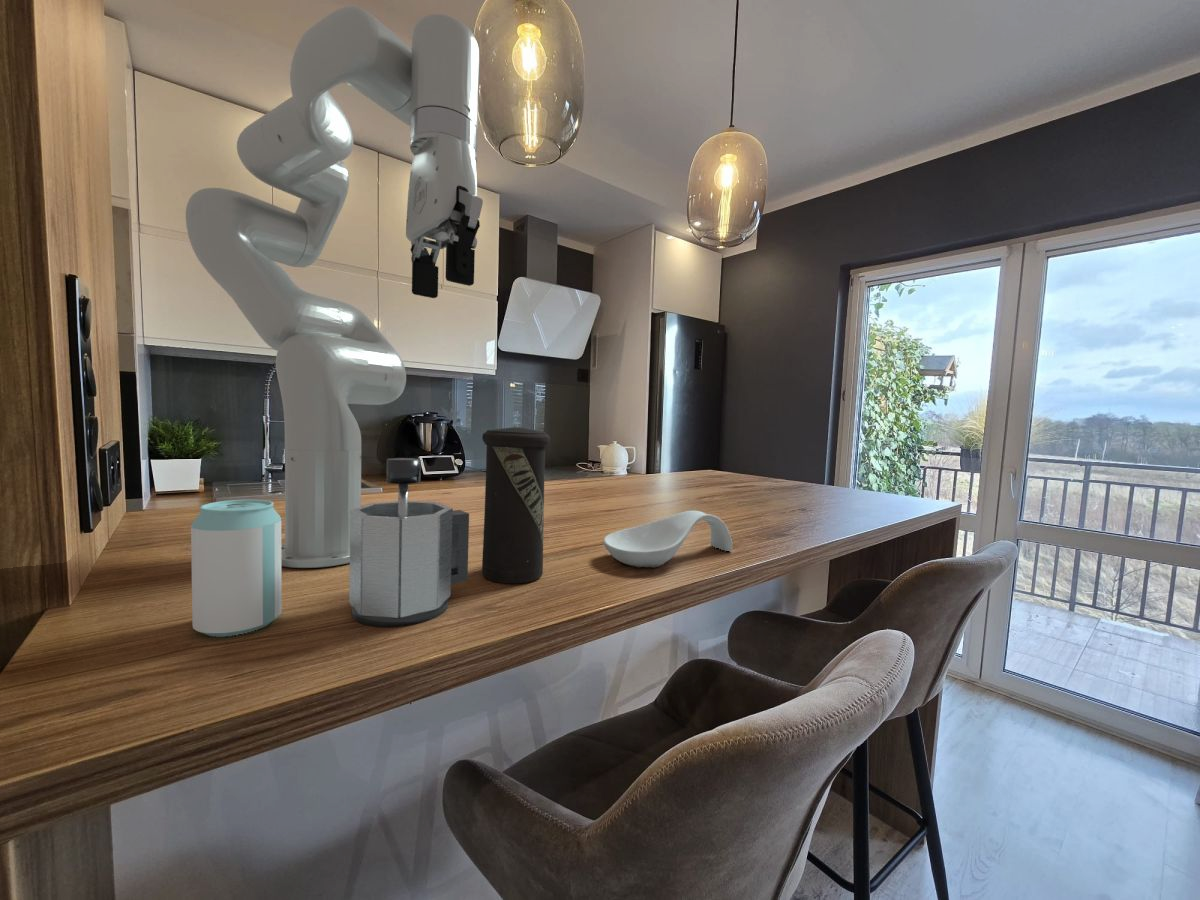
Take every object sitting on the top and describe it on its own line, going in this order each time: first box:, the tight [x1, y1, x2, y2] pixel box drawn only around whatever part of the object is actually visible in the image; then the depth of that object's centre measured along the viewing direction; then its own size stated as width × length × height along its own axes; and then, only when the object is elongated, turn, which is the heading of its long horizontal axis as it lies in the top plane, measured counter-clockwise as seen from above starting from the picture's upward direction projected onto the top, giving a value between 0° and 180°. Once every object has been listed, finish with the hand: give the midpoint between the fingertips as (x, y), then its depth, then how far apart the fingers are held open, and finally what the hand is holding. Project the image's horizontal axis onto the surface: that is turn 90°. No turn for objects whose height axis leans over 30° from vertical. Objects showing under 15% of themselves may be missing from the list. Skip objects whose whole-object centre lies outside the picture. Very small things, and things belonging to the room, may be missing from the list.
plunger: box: [385, 457, 422, 517], centre depth 54 cm, size 7×7×13 cm
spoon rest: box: [602, 510, 733, 568], centre depth 79 cm, size 24×12×7 cm, turn 124°
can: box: [190, 499, 282, 638], centre depth 48 cm, size 7×7×12 cm
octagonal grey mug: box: [348, 500, 470, 628], centre depth 55 cm, size 10×12×11 cm
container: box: [481, 427, 551, 584], centre depth 66 cm, size 9×9×20 cm
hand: (441, 289), depth 59 cm, fingers open, 9 cm apart
